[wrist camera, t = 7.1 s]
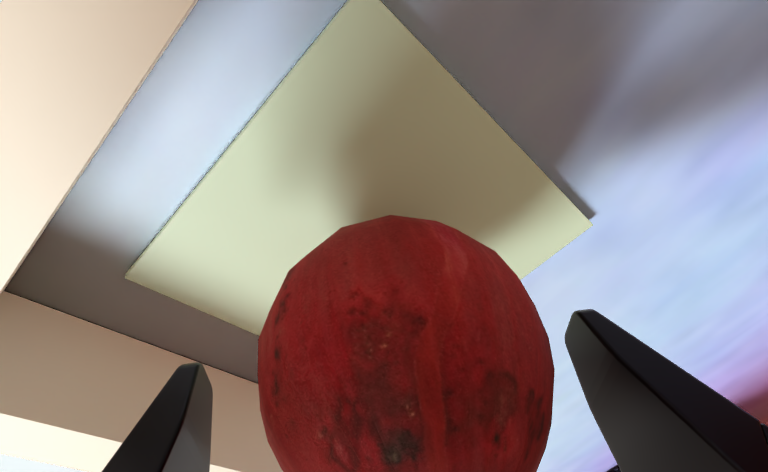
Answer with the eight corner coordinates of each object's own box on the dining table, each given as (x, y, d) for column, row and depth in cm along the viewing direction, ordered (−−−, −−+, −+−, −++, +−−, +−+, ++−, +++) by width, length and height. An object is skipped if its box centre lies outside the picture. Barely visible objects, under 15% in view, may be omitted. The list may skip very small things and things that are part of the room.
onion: (226, 191, 11) (134, 636, 4) (466, 122, 11) (731, 468, 4) (307, 345, 14) (323, 709, 8) (487, 293, 14) (647, 619, 8)
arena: (736, 169, 13) (835, 233, 11) (348, 445, 19) (356, 526, 16) (356, -525, 5) (408, -837, 3) (-97, 302, 11) (-199, 413, 9)
